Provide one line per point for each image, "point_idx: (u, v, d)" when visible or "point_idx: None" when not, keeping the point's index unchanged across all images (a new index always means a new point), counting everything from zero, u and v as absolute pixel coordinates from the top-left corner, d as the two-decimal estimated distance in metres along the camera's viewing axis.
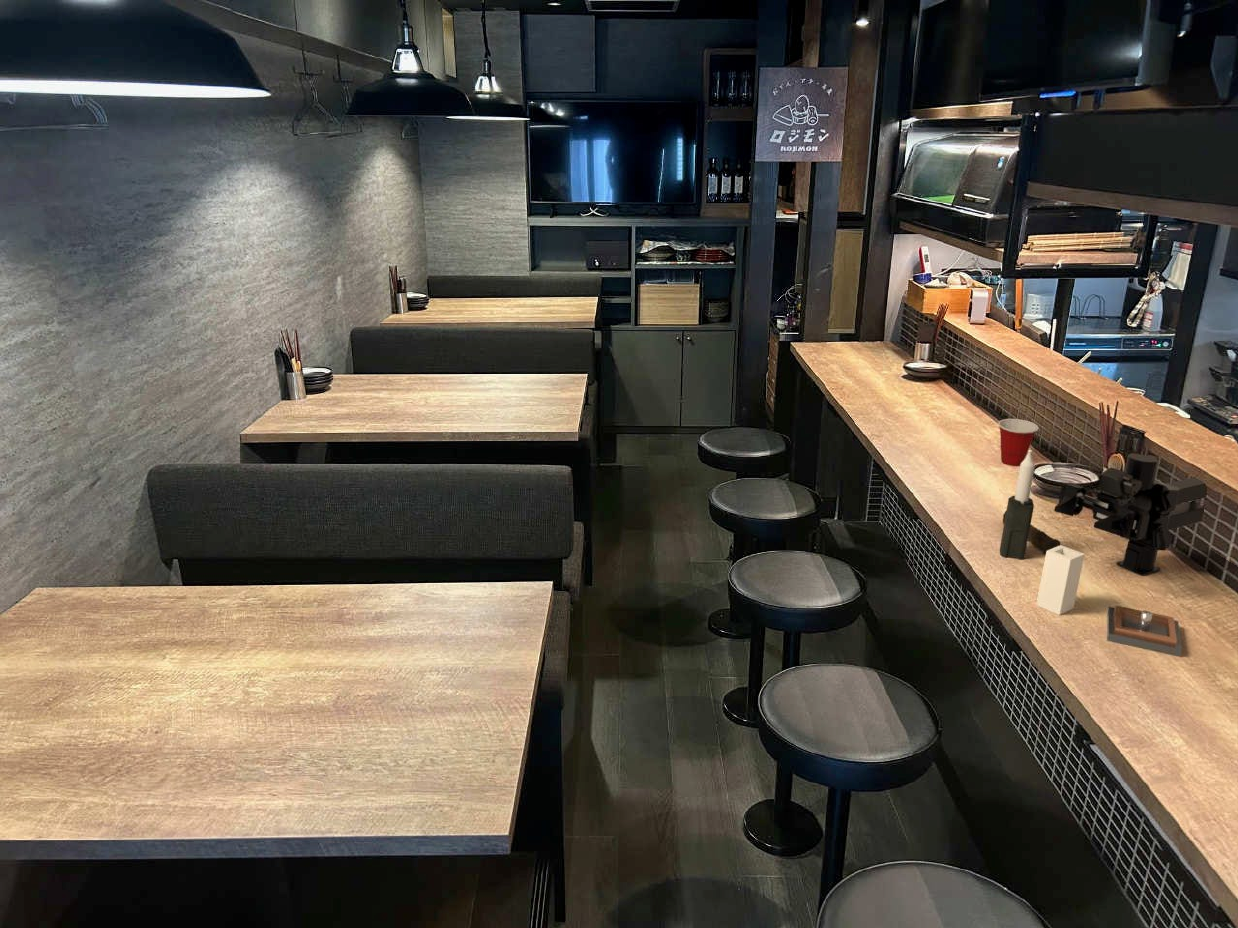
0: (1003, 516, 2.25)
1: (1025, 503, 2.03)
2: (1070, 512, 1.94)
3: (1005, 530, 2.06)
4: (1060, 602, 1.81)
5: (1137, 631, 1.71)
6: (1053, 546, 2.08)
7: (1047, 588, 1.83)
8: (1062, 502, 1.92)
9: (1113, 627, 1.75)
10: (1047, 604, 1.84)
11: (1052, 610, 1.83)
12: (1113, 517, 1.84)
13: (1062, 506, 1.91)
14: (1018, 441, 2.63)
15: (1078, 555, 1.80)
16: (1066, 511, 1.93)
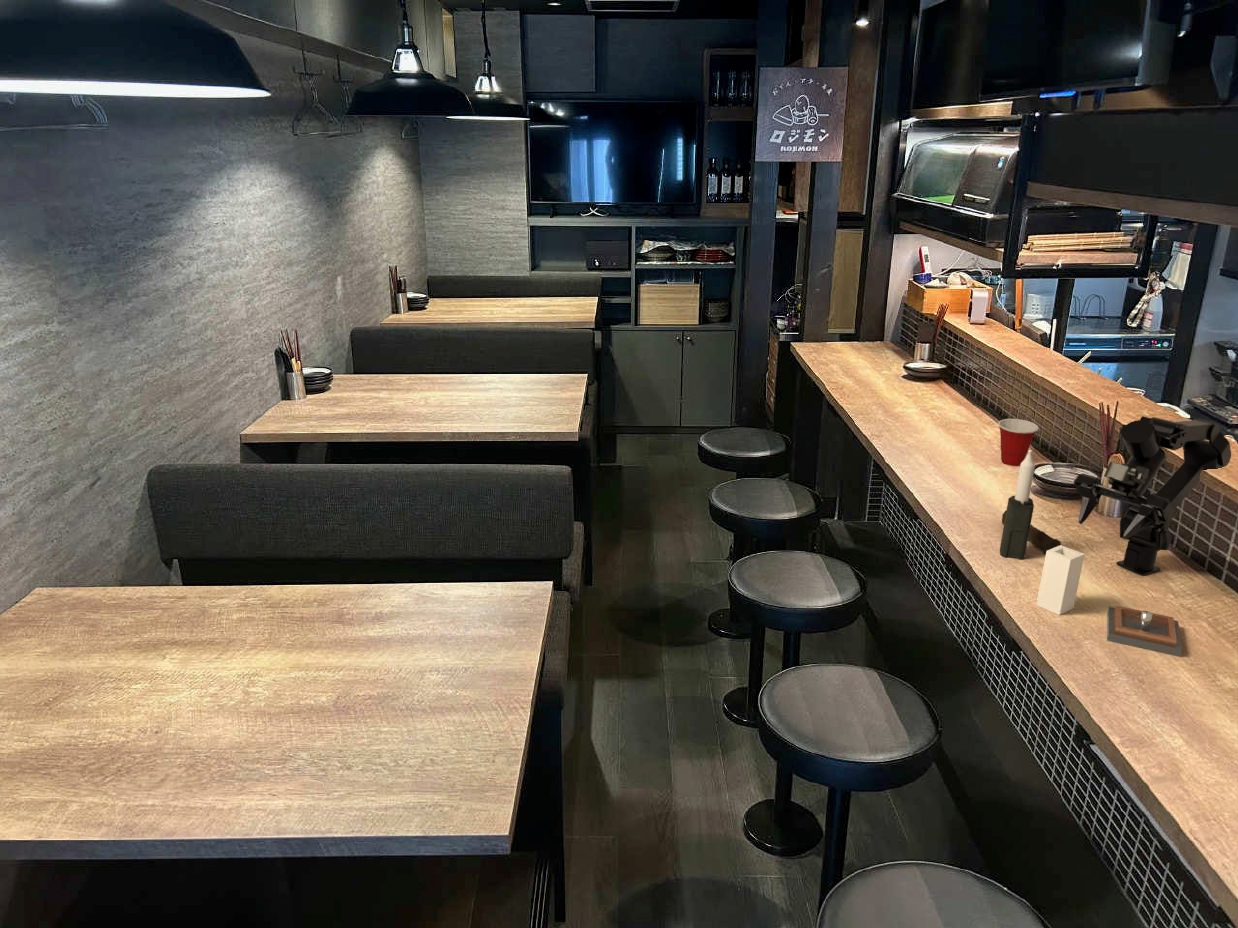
0: (1002, 516, 2.25)
1: (1025, 503, 2.03)
2: (1094, 505, 1.94)
3: (1005, 530, 2.06)
4: (1060, 602, 1.81)
5: (1137, 631, 1.71)
6: (1053, 546, 2.08)
7: (1047, 588, 1.83)
8: (1083, 511, 1.91)
9: (1113, 627, 1.75)
10: (1047, 604, 1.84)
11: (1052, 610, 1.83)
12: (1137, 520, 1.83)
13: (1084, 514, 1.91)
14: (1018, 441, 2.63)
15: (1078, 555, 1.80)
16: (1090, 510, 1.93)
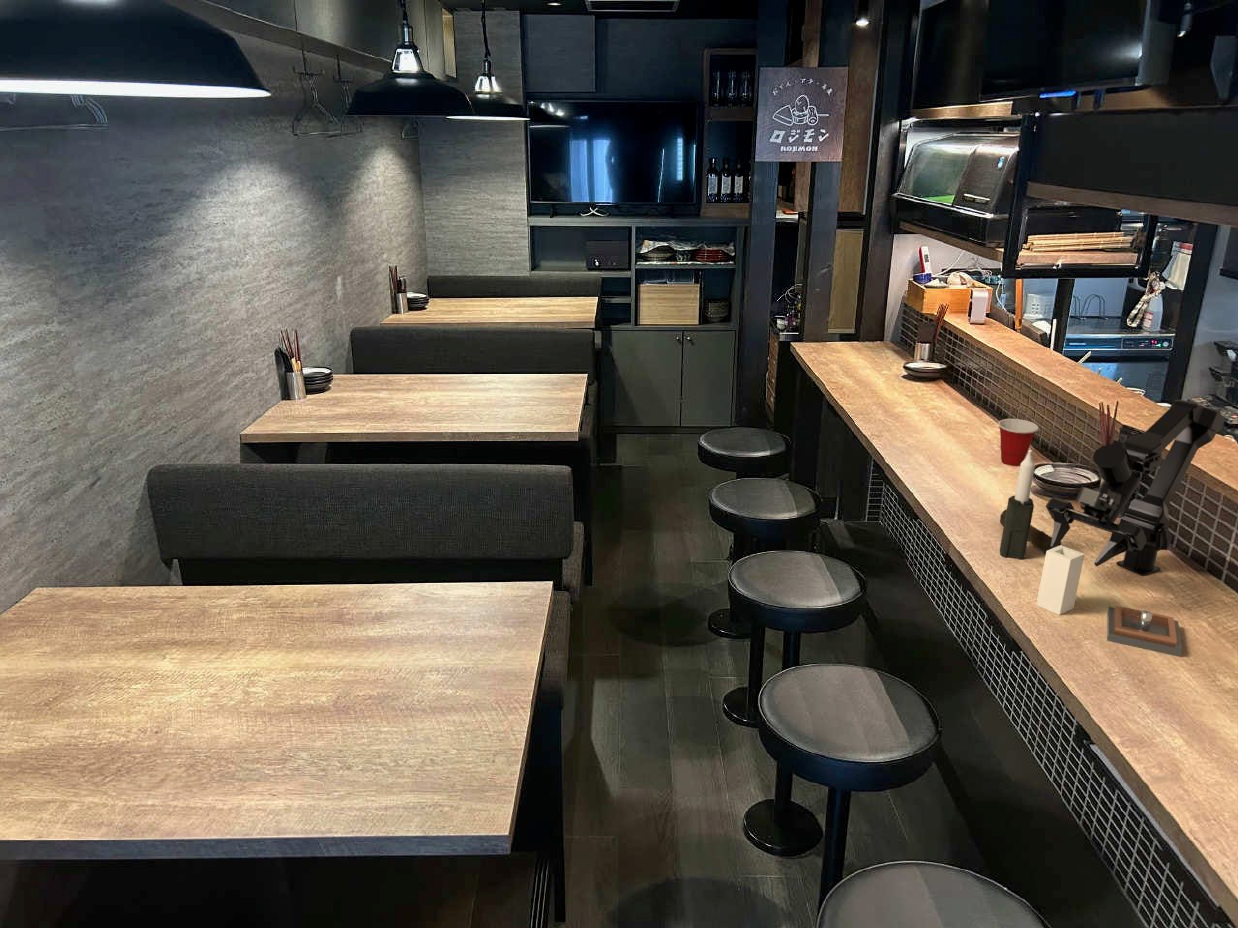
0: (1000, 516, 2.25)
1: (1025, 503, 2.03)
2: (1066, 530, 1.90)
3: (1005, 530, 2.06)
4: (1060, 602, 1.81)
5: (1137, 631, 1.71)
6: None
7: (1047, 588, 1.83)
8: (1054, 536, 1.87)
9: (1113, 627, 1.75)
10: (1047, 604, 1.84)
11: (1052, 610, 1.83)
12: (1109, 546, 1.79)
13: (1056, 540, 1.87)
14: (1018, 441, 2.63)
15: (1078, 555, 1.80)
16: (1062, 535, 1.89)
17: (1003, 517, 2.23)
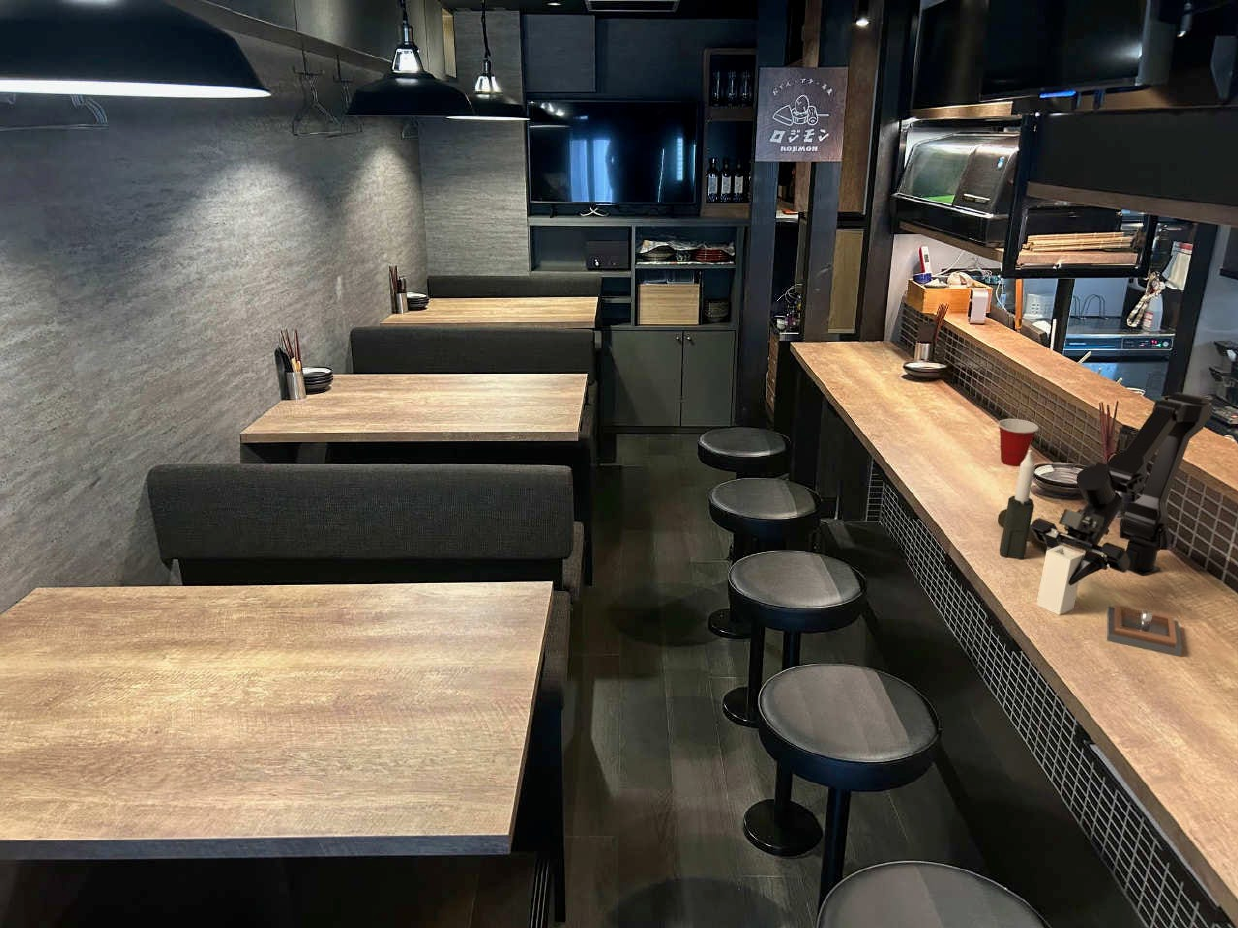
0: (999, 516, 2.25)
1: (1025, 503, 2.03)
2: None
3: (1005, 530, 2.06)
4: (1060, 602, 1.81)
5: (1137, 631, 1.71)
6: None
7: (1047, 588, 1.83)
8: None
9: (1113, 627, 1.75)
10: (1047, 604, 1.84)
11: (1052, 610, 1.83)
12: (1082, 565, 1.80)
13: None
14: (1018, 441, 2.63)
15: (1078, 555, 1.80)
16: None
17: (1001, 517, 2.23)
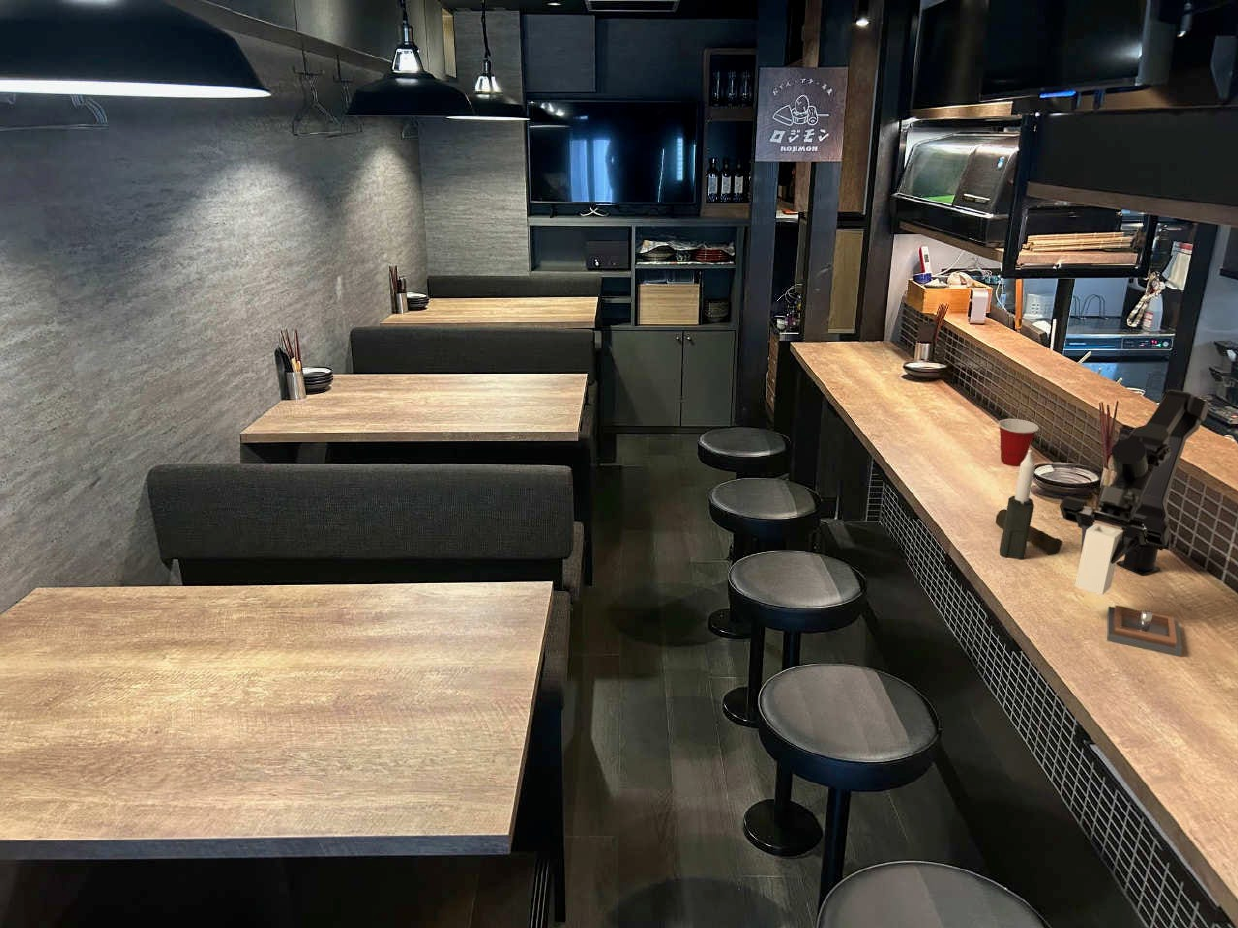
0: (997, 516, 2.24)
1: (1025, 503, 2.03)
2: None
3: (1005, 530, 2.06)
4: (1103, 582, 1.75)
5: (1137, 631, 1.71)
6: (1056, 545, 2.09)
7: (1087, 568, 1.76)
8: None
9: (1113, 627, 1.75)
10: (1088, 585, 1.77)
11: (1093, 591, 1.76)
12: (1124, 542, 1.73)
13: None
14: (1018, 441, 2.63)
15: (1118, 532, 1.74)
16: None
17: (1000, 517, 2.23)
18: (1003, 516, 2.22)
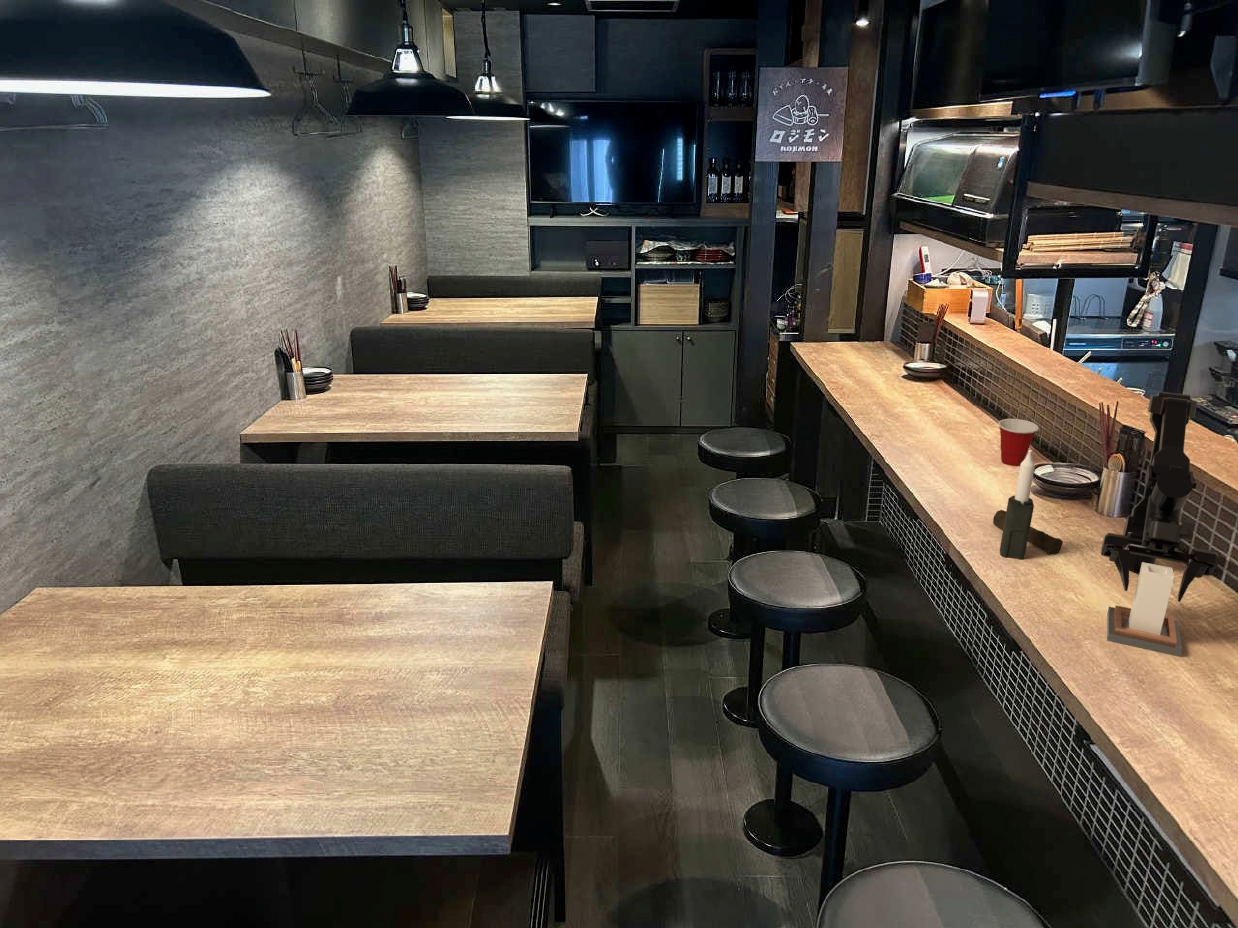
0: (994, 517, 2.24)
1: (1025, 503, 2.03)
2: None
3: (1005, 530, 2.06)
4: (1160, 623, 1.71)
5: (1137, 631, 1.71)
6: (1057, 545, 2.09)
7: (1144, 611, 1.72)
8: (1126, 576, 1.74)
9: (1113, 627, 1.75)
10: (1144, 627, 1.73)
11: (1150, 632, 1.73)
12: (1188, 579, 1.70)
13: (1128, 580, 1.74)
14: (1018, 441, 2.63)
15: (1170, 571, 1.71)
16: None
17: (997, 518, 2.23)
18: (1001, 517, 2.21)
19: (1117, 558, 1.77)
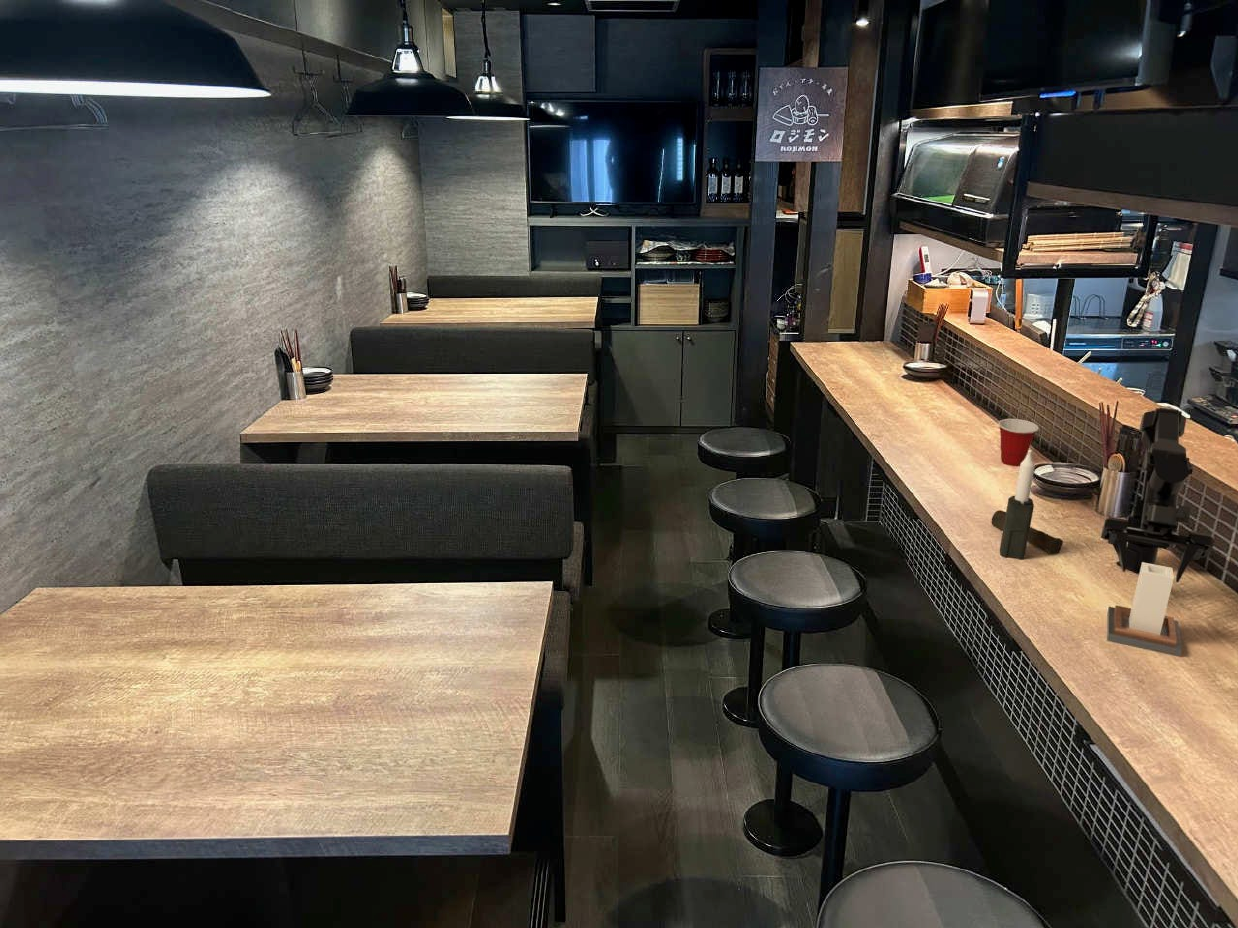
0: (993, 518, 2.24)
1: (1025, 503, 2.03)
2: None
3: (1005, 530, 2.06)
4: (1160, 623, 1.71)
5: (1137, 631, 1.71)
6: (1057, 545, 2.09)
7: (1144, 611, 1.72)
8: (1124, 558, 1.82)
9: (1113, 627, 1.75)
10: (1144, 627, 1.73)
11: (1150, 632, 1.73)
12: (1186, 560, 1.78)
13: None
14: (1018, 441, 2.63)
15: (1170, 571, 1.71)
16: None
17: (996, 518, 2.23)
18: (1000, 517, 2.21)
19: (1115, 541, 1.85)
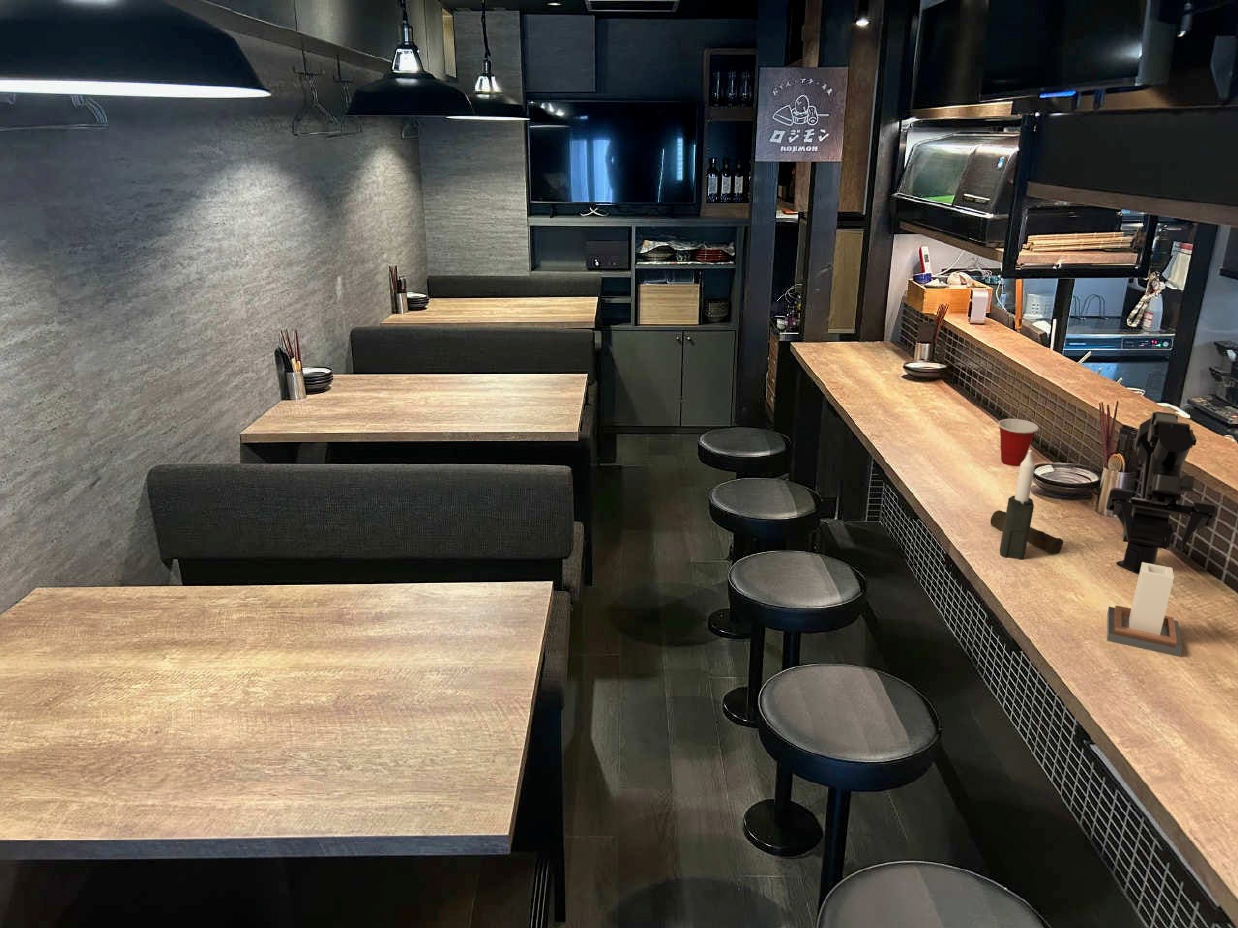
0: (992, 518, 2.24)
1: (1025, 503, 2.03)
2: None
3: (1005, 530, 2.06)
4: (1160, 623, 1.71)
5: (1137, 631, 1.71)
6: (1058, 545, 2.09)
7: (1144, 611, 1.72)
8: (1129, 527, 1.84)
9: (1113, 627, 1.75)
10: (1144, 627, 1.73)
11: (1150, 632, 1.73)
12: (1190, 529, 1.80)
13: (1131, 531, 1.84)
14: (1018, 441, 2.63)
15: (1170, 571, 1.71)
16: None
17: (995, 519, 2.22)
18: (999, 517, 2.21)
19: (1120, 511, 1.88)
